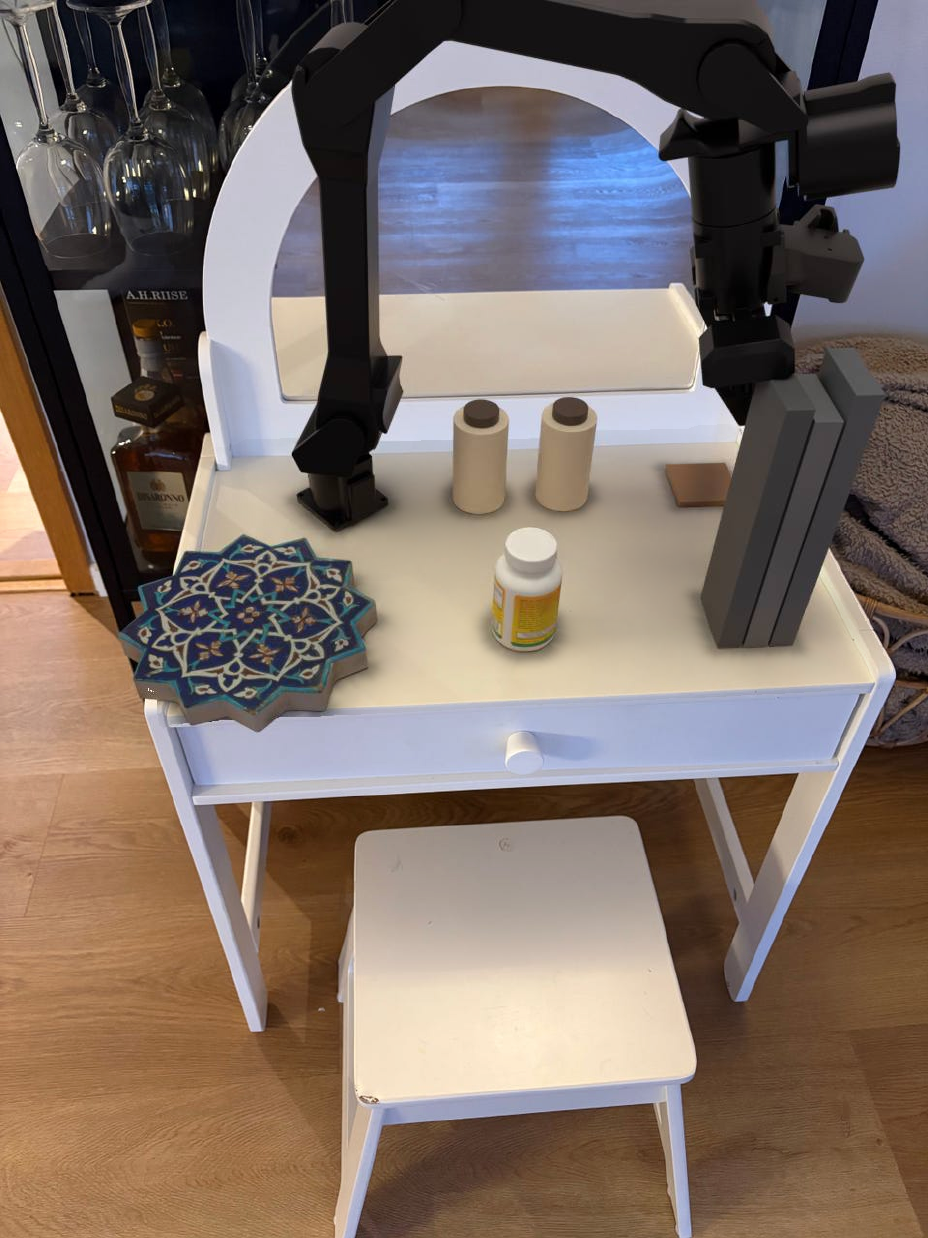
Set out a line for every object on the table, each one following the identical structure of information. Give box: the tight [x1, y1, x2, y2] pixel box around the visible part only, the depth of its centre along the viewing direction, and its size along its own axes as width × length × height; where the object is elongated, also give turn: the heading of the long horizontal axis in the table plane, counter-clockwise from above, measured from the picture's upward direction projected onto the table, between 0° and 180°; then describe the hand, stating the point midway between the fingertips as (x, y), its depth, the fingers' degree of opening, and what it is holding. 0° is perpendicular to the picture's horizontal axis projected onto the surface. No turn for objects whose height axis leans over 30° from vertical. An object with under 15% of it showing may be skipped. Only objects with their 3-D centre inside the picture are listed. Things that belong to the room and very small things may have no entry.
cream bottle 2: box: [534, 396, 598, 512], centre depth 91 cm, size 5×5×10 cm
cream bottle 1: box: [452, 398, 510, 515], centre depth 91 cm, size 5×5×10 cm
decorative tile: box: [117, 533, 378, 733], centre depth 80 cm, size 20×20×2 cm
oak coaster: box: [665, 462, 732, 508], centre depth 96 cm, size 6×6×1 cm
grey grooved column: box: [699, 347, 886, 649], centre depth 75 cm, size 6×6×24 cm
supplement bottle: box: [490, 527, 564, 652], centre depth 78 cm, size 5×5×10 cm
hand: (742, 400), depth 79 cm, fingers open, 6 cm apart
